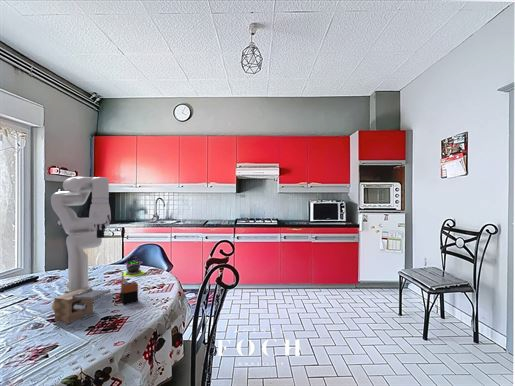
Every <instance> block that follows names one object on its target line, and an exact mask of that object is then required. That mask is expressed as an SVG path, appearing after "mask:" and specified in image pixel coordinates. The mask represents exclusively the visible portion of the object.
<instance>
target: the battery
mask: <svg viewBox="0 0 515 386" xmlns="http://www.w3.org/2000/svg"><path fill="white" fill-rule="evenodd" d="M138 302H139V284H138V283H137V282H136V281H135V280H132V281H131V282H129V281H124V284H122V298H121V304H123V305H129V304H135V303H138Z"/></svg>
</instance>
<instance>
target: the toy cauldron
mask: <svg viewBox="0 0 515 386" xmlns="http://www.w3.org/2000/svg"><path fill="white" fill-rule="evenodd" d="M134 258H135V260H130V261H127V262H124V265H125V268H126V271H124V277H128V278H129V277H137V276H139V277H140V276H142V275H144V274H146V271H144V270H141V269H140V268H141V264H142V263H143V261H138V260H137V259H136V258H137V257H134ZM120 275H121V276H122V273H121V274H120Z"/></svg>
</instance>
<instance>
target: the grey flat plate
mask: <svg viewBox="0 0 515 386" xmlns="http://www.w3.org/2000/svg"><path fill="white" fill-rule="evenodd" d="M109 293H111V290H109V289H106V290H105V289H104V290H102V289H101V290H98V289H97V290H96V289H94V290H93V289H92V288H91V289H89V290H87V291H84V292H81V293H78V294H76V295H73V296H72V298H73V299H93V300H94V299H96V298H99V297H101V296H104V295H107V294H109Z"/></svg>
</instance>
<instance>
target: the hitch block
mask: <svg viewBox="0 0 515 386" xmlns="http://www.w3.org/2000/svg"><path fill="white" fill-rule="evenodd" d="M84 291H87V290H82V289H79V290H76V291H73V292H70V293H67V292H66V293H65V294H62V295H58V296H56V297H54V301H55V311H54V321H55V322H62V323H68V324H70V323H72V322H74V321H76V320H78V319H80V318H83V317H85V316H87V315H91V314H92V313H94V299H73V298H72V296H73V295H76V294H78V293H81V292H84ZM73 302H76V303H83V304H87V309H86V310H85V311H77V310H72V303H73Z"/></svg>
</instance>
